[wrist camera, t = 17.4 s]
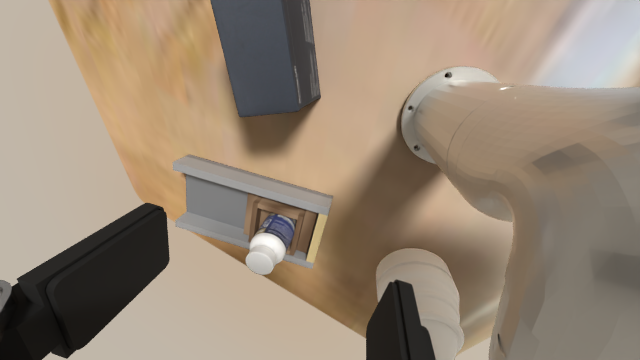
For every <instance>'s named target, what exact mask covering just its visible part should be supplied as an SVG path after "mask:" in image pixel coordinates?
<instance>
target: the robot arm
mask: <svg viewBox="0 0 640 360" xmlns="http://www.w3.org/2000/svg"><path fill="white" fill-rule="evenodd" d="M446 73H447V74H448V76H447V77H446V78H445V74H446ZM409 106H411V107H412V108H411V109H410V110H408V107H409ZM401 130H402V135H403V138H404V140H405V142H406V144H407V146H408V147H409V149H410V150H411V151H412V152H413V153H414V154H415V155H416V156H418V157H419V158H421V159H423V160H425V161H427V162H430V163H433V164H437V165H438V166H439V168H440V169H441V170H442V172H443V173H444V174H445V175H446V177H447V178H448V179H449V181H450V182H451V183H452V184H453V186H454V187H455V188H456V189H457V190H458V191H459V193H460V194H461V195H462V196H463V198H464V199H465V200H466V201H467V202H468V203H469V204H470V205H471V206H473V207H474V208H475V209H477V210H478V211H480V212H482V213H483V214H485V215H487V216H490V217H492V218H495V219H498V220H503V221H508V222H513V241H512V247H511V252H510V256H509V260H508V264H507V268H506V273H505V283H504V287H503V291H502V295H501V299H500V303H499V307H498V311H497V315H496V319H495V323H494V327H493V332H492V336H491V342H490V349H489V360H640V87H629V88H587V89H586V88H565V87H550V86H533V85H520V84H506V83H500V82H499V81H498V80H497V79H496V78H495V77H494V76H493V75H491V74H490V73H488V72H487V71H485V70H482V69H479V68H476V67H469V66H458V67H451V68H447V69H444V70H441V71H438V72H436V73H434V74H432V75H430V76H429V77H427V78H426V79H425V80H423V81H422V82H421V83H419V85H418V86H417V87H416V88H415V89H414V90H413V91H412V93H411V94H410V96H409V97H408V99H407V101H406V103H405V105H404V108H403V111H402V116H401ZM415 145H417V148H414V146H415ZM168 263H169V245H168V230H167V215H166V212H164V209H163V207H160V206H157V205H154V204H151V203H145V204H143V205H141V206H139V207H138V208H136V209H134V210H133V211H131V212H129V213H127V214H126V215H124V216H122V217H121V218H119V219H117V220H115V221H114V222H112V223H110V224H109V225H107V226H105V227H104V228H103V229H100V230H99V231H97V232H95V233H93V234H92V235H90V236H88V237H87V238H85V239H84V240H82V241H80V242H78V243H77V244H75V245H73V246H71V247H70V248H68V249H66V250H65V251H63V252H61V253H60V254H58V255H56V256H55V257H53V258H51V259H49V260H48V261H46V262H45V263H43V264H41V265H39V266H38V267H36V268H34V269H32V270H31V271H29V272H27V273H26V274H24V275H22V276H21V277H19V278H17V280H18V282H19V283H17V284H15V285H14V286H12V287H11V285H10V283H8V282H6V281H4V280H0V360H42V359H43V358H44V357H45V356H46V355H47V354H49V353H50V352H52V353H53V354H55V355H58V356H61V357H64V358H68V357H69V356H70V355H71V354H73V352H75V351H76V350H79V349H81V348H83V347H84V346H85V345H87V344H88V343H89V342H90V341H91V340H92V339H93V338H94V337H95V336H96V335H97V334H98V333H99V332H100V331H101V330H102V329H103V328H104V327H105V326H106V325H107V324H108V323H109V322H110V321H111V320H112V319H113V318H114V317H115V316H116V315H117V314H118V313H119V312H120V311H122V309H124V308H125V307H126V306H127V305H128V304H129V302H131V301H132V300H133V299H134V298H135V297H136V296H137V295H138V294H139V293H140V292H141V291H142V290H143V289H144V288H145V287H146V286H147V285H148V284H149V283H150V282H151V281H152V280H153V279H154V278H155V277H157V275H159V274H160V272H162V271H163V270H164V269H165V268H166V266H167V265H168ZM366 360H436V358H435V354H434V350H433V346H432V342H431V338H430V334H429V331H428V330H427V328H426V327H424V326H422V325H421V321H420V317H419V312H418V308H417V303H416V299H415V294H414V290H413V286H412V284H410V283H407V282H404V281H400V280H397V279H396V280H395V281H394V282H389V284H388V286H387V288H386V289H385V291H384V293H383V295H382V297H381V299H380V301H379V303H378V305H377V307H376V309H375V311H374V313H373V315H372V317H371V319H370V321H369V323H368V326H367V331H366Z"/></svg>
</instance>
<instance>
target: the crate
mask: <svg viewBox="0 0 640 360" xmlns="http://www.w3.org/2000/svg"><path fill="white" fill-rule="evenodd" d="M272 212H273V213H276V214H279V215H283V216H286V217H289V218H293V219H295V221H296V227H295V232H294V236H293V238H292V240H291V243H290V245H289V247H288V249H287V252H286V254H289V255H292V256H294V254H295V252H296V250H298V251H301V252H304V253H307V250H308V247H309V244H310V240H311V236H312V233H313V229H314V225H315V222H316V218H317V214H318V213H316V212H313V211H310V210H306V209H303V208H299V207H296V206H293V205H289V204H286V203H283V202H279V201H276V200H273V199H269V198H266V197H262V196H259V195H256V194H252V193H249V192H248V197H247V206H246V215H245V224H244V233H243V234H246V235H249V240H248V242H251V240H252V238H253V237H254V235H255V234H256V233H257V231H258V230H259V228H260V227H261V225H262V224H263V222H264V221H265V220H266V218H267V217H268V215H269V214H270V213H272Z"/></svg>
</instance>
